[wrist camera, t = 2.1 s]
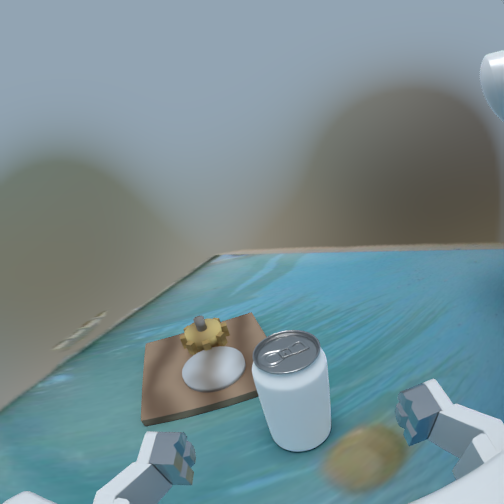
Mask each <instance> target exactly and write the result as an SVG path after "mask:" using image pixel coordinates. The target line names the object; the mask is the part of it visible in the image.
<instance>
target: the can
mask: <svg viewBox="0 0 504 504" xmlns="http://www.w3.org/2000/svg"><path fill="white" fill-rule="evenodd" d="M252 375H253V379H254V383H255V386H256V389H257V392H258V396H259V399H260V402H261V405H262V408H263V411H264V415H265V418H266V421H267V424H268V427H269V430H270V432H271V435H272V438H273V439H274V441H275V442H276V443H277V444H278V445H279V446H280V447H282V448H283V449H286V450H289V451H296V452H299V451H307V450H310V449H313V448H315V447H317V446H319V445H320V444H321V443H323V442H324V441H325V439H326V438H327V437H328V435H329V433H330V430H331V408H330V391H329V378H328V367H327V359H326V355H325V353H324V351H323V350H322V349H321V347H320V342H319V340H318V339H317V338H316V337H315V336H314V335H312V334H310V333H308V332H305V331H300V330H288V331H282V332H278V333H275V334H272V335H270V336H268V337H266V338H265V339H263V340H262V341H261V342H259V343H258V344H257V346H256V347H255V349H254V351H253V365H252Z"/></svg>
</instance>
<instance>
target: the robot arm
mask: <svg viewBox="0 0 504 504" xmlns="http://www.w3.org/2000/svg"><path fill="white" fill-rule="evenodd" d="M502 2H503V3H504V0H502ZM480 83H481V88H482V91H483V94H484V97H485V99H486V101H487V103H488V105H489V106H490V108H491V109H492V110H493V112H494V113H495V114H496V115H497V116H498V117H499V118H500V119H501V120H502V121H503V122H504V50H502V51H498V52H494V53H490V54H487V55H485V57H484V58H483V61H482V63H481V67H480ZM398 400H399V403H398V404H397V405H396V409H395V414H396V419H397V422H398V424H399V426H400V427H402V428H404V429H405V430H404V434H403V435H404V437H405V439H406V441H407V443H408V445H409V446H411V445H414V444H416V443H419V442H421V441H424V440H426V439H428V440H429V441H431V442H433V443H434V444H436V445H437V446H439V447H441V448H442V449H444V450H446V451H448V452H449V453H451V454H453V455H454V456H456V457H458V458H460V459H459V461H458V462H457V464H456V465H455V466H454V468H453V470H452V472H453V474H454V476H455V478H456V481H454V482H452V483H450V484H449V485H447V486H445V487H443V488H441V489H439V490H437V491H435V492H433V493H431V494H429V495H426V496H424V497H422V498H420V499H418V500H415V501H413V502H411V503H408V504H504V424H503V422H502V421H501V420H500V419H497V418H494V417H491V416H489V415H486V414H483V413H480V412H478V411H475V410H472V409H470V408H467V407H464V406H462V405H459V404H454V405H453V403H452V402H451V400H450V399H449V397H448V396H447V395H446V393H445V392H444V390H443V389H442V388H441V386H440V385H439V384H438V382H437V381H436V380H435V379H431V380H429V381H426V382H424V383H421V384H418V385H416V386H414V387H411V388H409V389H406V390H403V391H401V392H400V393H399V394H398ZM195 460H196V455H195V449H194V446H193V445H192V443H190V442H188V441H187V436H186V434H185V433H184V432H149V431H148V432H147V433H146V434H145V436H144V439H143V442H142V445H141V449H140V452H139V455H138V458H137V461H136V462H133V463H132V464H130V465H129V466H128V467H127V468H126V469H125V470H123V471H122V472H121V473H120V474H118V475H117V476H116V477H115V478H114V479H112V480H111V481H110V482H109V483H107V484H106V485H105V486H104V487H102V488H101V489H100V490H98V491H97V493H96V496H95V499H94V502H93V504H157V503H158V502H159V501H160V500H161V499H162V497H163V496H164V495H165V494H166V493H167V492H168V490H169V489H170V488H171V487H172V485H192V481H193V474H194V472H193V470H192V469H191V467H192V466H193V465H194V464H195ZM3 504H57V503H54V502H52V501H50V500H47V499H45V498H43V497H41V496H39V495H37V494H35V493H32V492H30V491H25V492H22V493H20V494H18V495H16V496H14V497H12V498H10V499H8V500H7V501H5V502H4V503H3Z"/></svg>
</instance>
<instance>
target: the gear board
mask: <svg viewBox="0 0 504 504" xmlns="http://www.w3.org/2000/svg"><path fill="white" fill-rule="evenodd" d="M184 332H185V333H183V334H179V335H176V336H172V337H169V338H165V339H161V340H158V341H154V342H150V343H147V344H146V347H145V358H144V371H143V385H142V405H141V421H142V423H143V424H144V425H145V426H149V425H154V424H159V423H164V422H169V421H173V420H177V419H182V418H186V417H190V416H194V415H198V414H202V413H205V412H209V411H213V410H216V409H220V408H223V407H226V406H230V405H233V404H236V403H239V402H242V401H245V400H248V399H251V398H254V397H257V396H258V392H257V389H256V386H255V383H254V379H253V375H252V365H253V351H254V349H255V347H256V346H257V344H258V343H259V342H261V341H262V340H263V339H265V338H266V335H265V334H264V332H263V330H262V329H261V327H260V326H259V324H258V322H257V321H256V319H255V317H254V316H253V314H252V312H251V313H248V314H245V315H242V316H239V317H235V318H232V319H229V320H226V321H223V322H220V320H219V318H213V319H204V317H203V316H197V317H195V318H194V323H192V324H191V325H190V326H187V327H185V328H184Z"/></svg>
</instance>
